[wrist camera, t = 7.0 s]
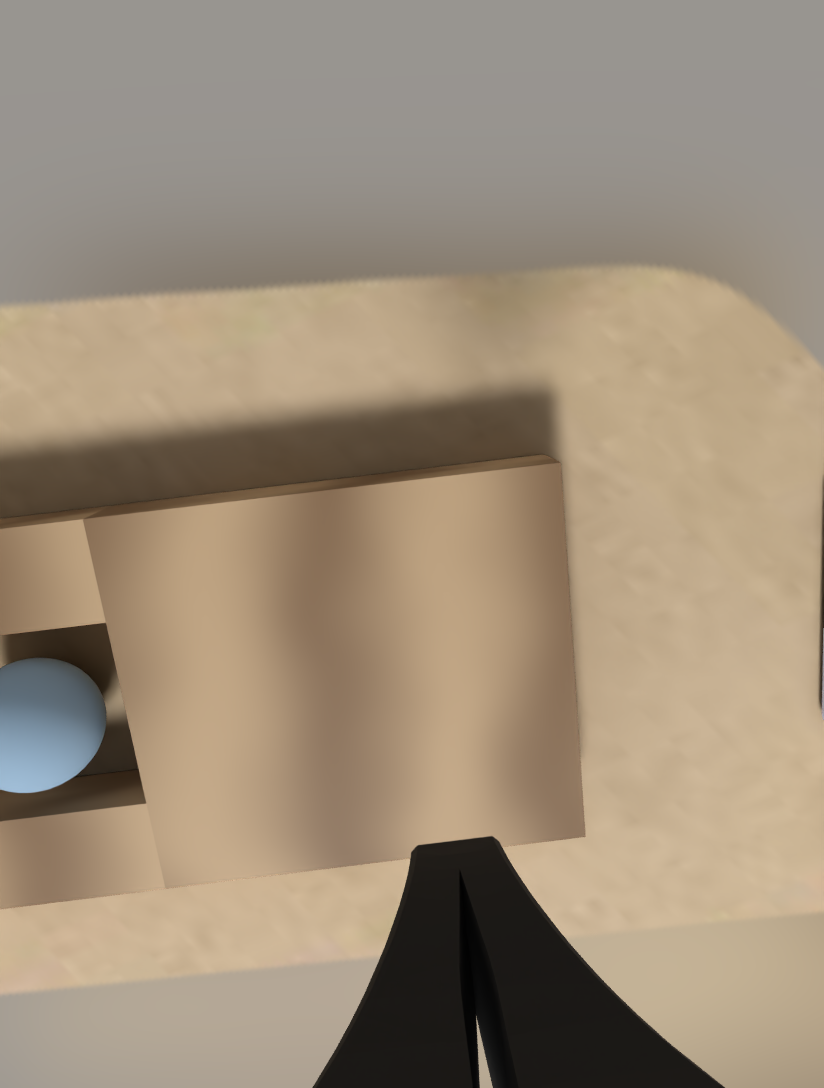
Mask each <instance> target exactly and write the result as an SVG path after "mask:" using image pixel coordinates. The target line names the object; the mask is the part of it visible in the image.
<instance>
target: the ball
mask: <svg viewBox="0 0 824 1088" xmlns="http://www.w3.org/2000/svg"><path fill="white" fill-rule="evenodd" d="M105 728H106V707H105V703H104V700H103V697H102V694H101V692H100V690H99V688H98V687H97V685H96V684H95V682H94V681H93V680H92V679H91V678H90V677H89V676H88V675H87V674H86V673H85V672H83V671H82V670H81V669H79V668H78V667H76V666H74V665H72V664H70V663H67V662H64V661H61V660H57V659H52V658H29V659H23V660H19V661H16V662H13V663H10V664H8V665H5V666H3V667H1V668H0V790H4V791H8V792H16V793H33V792H40V791H44V790H48V789H51V788H53V787H56V786H58V785H61V784H63V783H64V782H66V781H68V780H70V779H71V778H73V777H74V776H76V775H77V774H78V773H79V772H80V771H81V770H83V769H84V768H85V767H86V765H87V764H88V763H89V762H90V761H91V760H92V758H93V757H94V755H95V754H96V752H97V751H98V749H99V747H100V745H101V742H102V739H103V737H104V733H105Z"/></svg>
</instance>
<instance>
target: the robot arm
mask: <svg viewBox="0 0 824 1088" xmlns="http://www.w3.org/2000/svg"><path fill="white" fill-rule="evenodd" d="M822 717H823V720H824V630H823V681H822ZM476 1016H477V1020H478V1025H479V1029H480V1034H481V1038H482V1042H483V1046H484V1050H485V1055H486V1060H487V1064H488V1068H489V1073H490V1077H491V1081H492V1086H493V1088H725V1087H723V1086H722V1085H721V1084H720V1083H718V1082H717V1081H716V1080H715V1079H713V1078H712V1077H711V1076H710V1075H708V1074H707V1073H706V1072H705V1071H703V1070H702V1069H701V1068H700V1067H698V1066H697V1065H696V1064H695V1063H693V1062H692V1061H691V1060H690V1059H688V1058H687V1057H686V1056H684V1055H683V1054H682V1053H681V1052H679V1051H678V1050H677V1049H676V1048H675V1047H673V1046H672V1045H671V1044H670V1043H668V1042H667V1041H666V1040H665V1039H664V1038H662V1036H660V1035H659V1034H658V1033H657V1032H656V1031H655V1030H654V1029H653V1028H652V1027H651V1026H649V1025H648V1024H647V1023H646V1022H645V1021H644V1020H643V1019H642V1018H641V1017H639V1016H638V1015H637V1014H636V1013H635V1012H634V1011H633V1010H632V1009H631V1008H630V1007H629V1006H628V1005H627V1004H626V1003H625V1002H624V1001H623V1000H622V999H621V998H620V997H619V996H618V995H616V993H615V992H614V991H613V990H612V989H611V988H610V987H609V986H608V985H607V984H606V983H605V982H604V981H603V980H602V979H601V978H600V977H599V976H598V975H597V974H596V973H595V972H594V970H593V969H592V968H591V967H590V966H589V965H588V964H587V963H586V962H585V961H584V959H583V958H582V957H581V956H580V955H579V954H578V952H577V951H576V950H575V949H574V948H573V947H572V946H571V944H569V942H568V941H567V940H566V938H565V937H564V936H563V935H562V934H561V932H560V931H559V930H558V929H557V927H556V926H555V925H554V924H553V922H552V921H551V920H550V918H549V917H548V916H547V914H546V913H545V912H544V911H543V909H542V908H541V907H540V905H539V904H538V903H537V901H536V900H535V899H534V897H533V896H532V894H531V893H530V892H529V890H528V889H527V887H526V886H525V884H524V883H523V881H522V880H521V878H520V877H519V875H518V874H517V872H516V871H515V869H514V867H513V866H512V864H511V862H510V861H509V859H508V857H507V856H506V854H505V852H504V850H503V848H502V846H501V844H500V842H499V841H498V840H497V839H496V838H494V837H493V836H487V837H479V838H471V839H463V840H455V841H447V842H439V843H431V844H423V845H417V846H416V847H415V848H414V850H413V851H412V852H411V859H410V866H409V871H408V876H407V880H406V884H405V888H404V892H403V895H402V898H401V902H400V905H399V908H398V911H397V914H396V917H395V920H394V923H393V926H392V928H391V931H390V934H389V937H388V940H387V943H386V945H385V948H384V950H383V953H382V955H381V957H380V960H379V962H378V964H377V967H376V969H375V971H374V973H373V976H372V978H371V981H370V983H369V985H368V987H367V990H366V992H365V994H364V996H363V998H362V1000H361V1002H360V1004H359V1006H358V1008H357V1011H356V1012H355V1014H354V1016H353V1018H352V1020H351V1022H350V1024H349V1026H348V1028H347V1030H346V1031H345V1033H344V1035H343V1037H342V1039H341V1041H340V1043H339V1044H338V1046H337V1048H336V1050H335V1051H334V1053H333V1055H332V1057H331V1058H330V1060H329V1062H328V1063H327V1065H326V1066H325V1068H324V1070H323V1071H322V1073H321V1075H320V1076H319V1078H318V1080H317V1081H316V1083H315V1085H314V1086H313V1088H480V1085H479V1064H478V1044H477V1024H476Z"/></svg>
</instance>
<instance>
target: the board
mask: <svg viewBox="0 0 824 1088" xmlns="http://www.w3.org/2000/svg"><path fill="white" fill-rule="evenodd" d="M99 623H106V625H107V630H108V634H109V639H110V643H111V648H112V652H113V657H114V661H115V666H116V670H117V675H118V679H119V684H120V688H121V692H122V697H123V701H124V706H125V710H126V715H127V719H128V724H129V728H130V733H131V737H132V742H133V746H134V750H135V755H136V759H137V764H138V768H139V770H131V771H122V772H114V773H106V774H98V775H90V776H81V777H73V778H71V779H70V780H68V781H66V782H64V783H63V784H61V785H58V786H56V787H53V788H51V789H48V790H44V791H40V792H33V793H16V792H8V791H4V790H0V909H7V908H15V907H23V906H31V905H39V904H47V903H55V902H63V901H71V900H79V899H88V898H96V897H104V896H112V895H120V894H128V893H136V892H144V891H152V890H160V889H168V888H176V887H184V886H192V885H200V884H208V883H217V882H225V881H233V880H241V879H249V878H257V877H265V876H273V875H281V874H289V873H297V872H305V871H313V870H321V869H329V868H337V867H346V866H354V865H362V864H370V863H378V862H386V861H394V860H402V859H410V858H411V852H412V851H413V850H414V848H415V847H416V846H417V845H423V844H431V843H439V842H447V841H455V840H463V839H471V838H479V837H487V836H493V837H494V838H496V839H497V840H498V841H499V842H500V844H501V846H502V847H507V846H515V845H523V844H531V843H539V842H547V841H555V840H563V839H571V838H579V837H585V822H584V806H583V791H582V776H581V761H580V746H579V731H578V715H577V700H576V685H575V670H574V655H573V640H572V625H571V609H570V594H569V579H568V564H567V549H566V534H565V518H564V503H563V488H562V473H561V462H559V461H557V460H555V459H553V458H550V457H548V456H546V455H544V454H542V455H534V456H525V457H517V458H509V459H500V460H492V461H483V462H475V463H466V464H458V465H449V466H441V467H433V468H424V469H416V470H407V471H399V472H390V473H382V474H373V475H365V476H356V477H348V478H340V479H331V480H323V481H314V482H306V483H297V484H289V485H280V486H272V487H264V488H255V489H247V490H238V491H230V492H221V493H213V494H204V495H196V496H188V497H179V498H171V499H162V500H154V501H145V502H137V503H128V504H120V505H111V506H103V507H95V508H86V509H78V510H69V511H61V512H52V513H44V514H35V515H27V516H19V517H10V518H2V519H0V635H7V634H16V633H24V632H32V631H41V630H49V629H57V628H66V627H74V626H82V625H91V624H99Z"/></svg>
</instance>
